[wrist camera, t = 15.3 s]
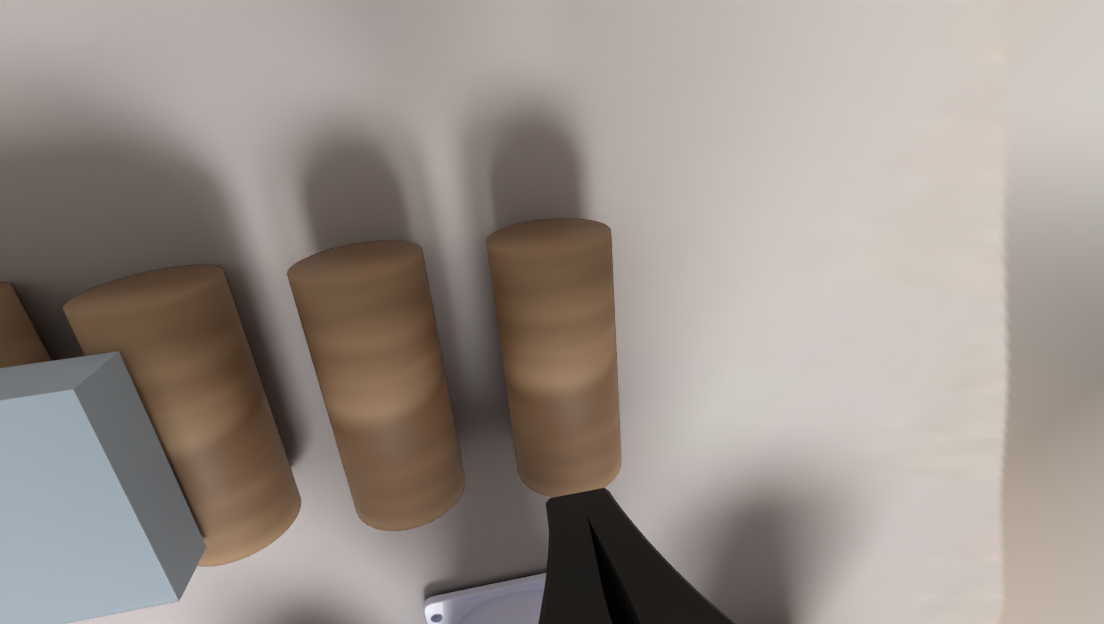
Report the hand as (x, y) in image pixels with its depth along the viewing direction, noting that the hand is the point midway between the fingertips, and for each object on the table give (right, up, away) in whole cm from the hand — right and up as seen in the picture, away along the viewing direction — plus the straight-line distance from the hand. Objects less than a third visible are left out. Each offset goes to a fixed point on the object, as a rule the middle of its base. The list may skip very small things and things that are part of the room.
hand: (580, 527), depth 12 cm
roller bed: (-12, +2, +8) cm, 15 cm away
